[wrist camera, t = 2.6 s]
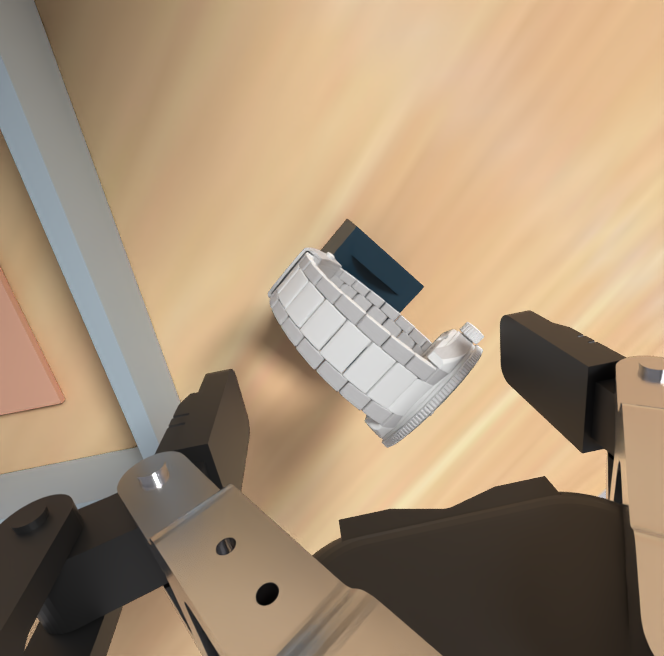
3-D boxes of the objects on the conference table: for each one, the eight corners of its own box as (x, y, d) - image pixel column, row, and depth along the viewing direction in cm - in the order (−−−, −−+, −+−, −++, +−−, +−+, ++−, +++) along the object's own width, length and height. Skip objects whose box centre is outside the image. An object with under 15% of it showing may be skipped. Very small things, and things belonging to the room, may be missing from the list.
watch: (365, 363, 24) (422, 510, 13) (253, 278, 21) (220, 380, 11) (431, 291, 22) (551, 393, 12) (321, 193, 20) (356, 217, 10)
